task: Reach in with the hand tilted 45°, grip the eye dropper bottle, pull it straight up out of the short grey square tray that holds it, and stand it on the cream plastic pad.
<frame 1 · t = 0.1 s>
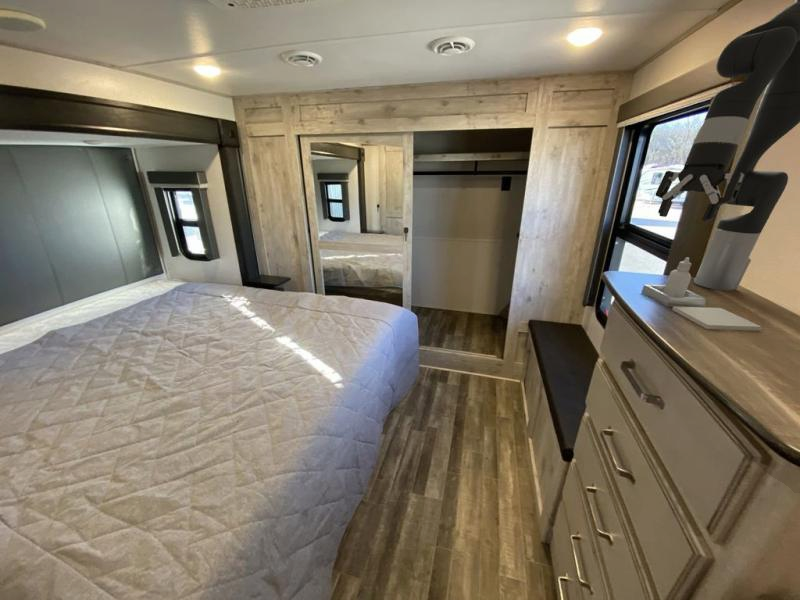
hand: (682, 218, 74), 22 cm above the dresser top, tool pointing down, fingers open, 8 cm apart
cream pad: (713, 319, 76), on the dresser top
eye dropper bottle: (670, 300, 87), resting in grey square tray
grey square tray: (670, 299, 87), on the dresser top
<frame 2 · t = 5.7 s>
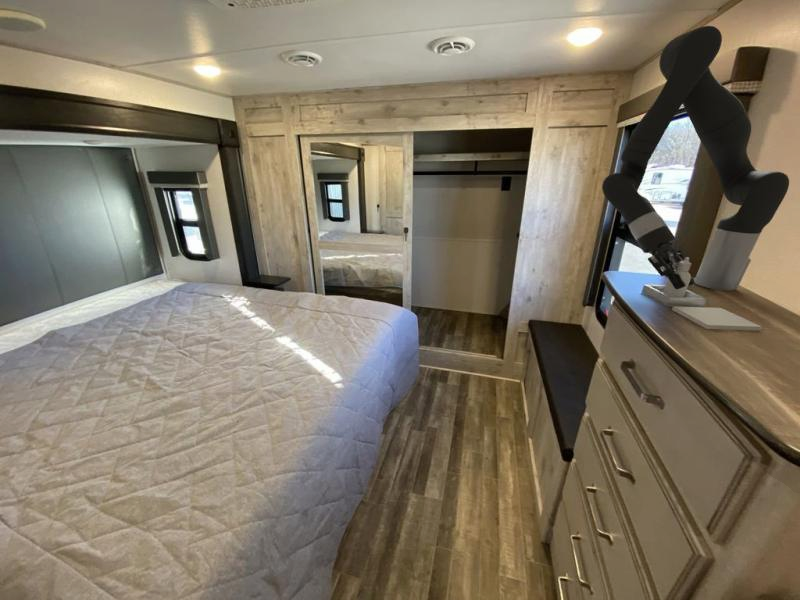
hand: (685, 286, 83), 5 cm above the dresser top, tool tilted 45°, fingers closed on eye dropper bottle, 4 cm apart
eye dropper bottle: (670, 300, 87), resting in grey square tray, touching gripper
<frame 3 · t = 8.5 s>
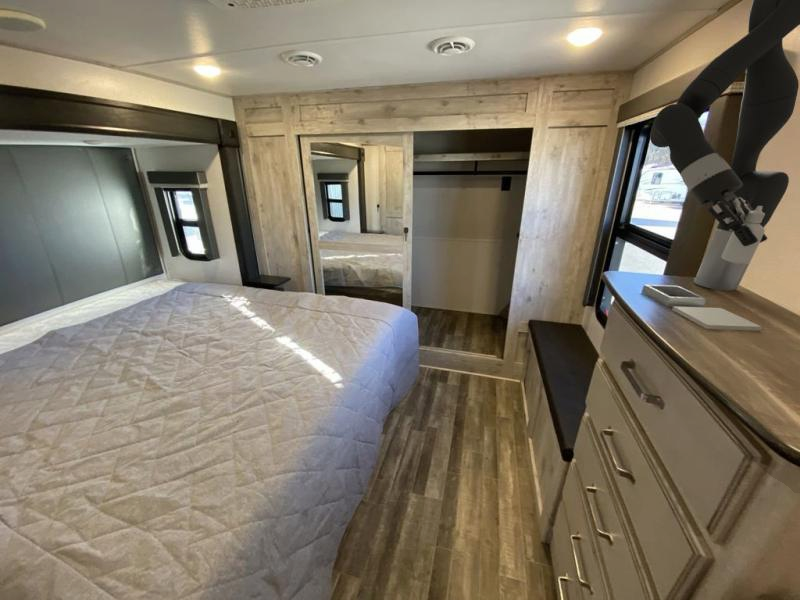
hand: (756, 242, 67), 19 cm above the dresser top, tool tilted 45°, fingers closed on eye dropper bottle, 4 cm apart
eye dropper bottle: (733, 262, 71), point 14 cm above the dresser top, touching gripper
when the fingers open (7 cm above the dresser top, at t = 11.3 s): eye dropper bottle drops 1 cm, resting on cream pad.
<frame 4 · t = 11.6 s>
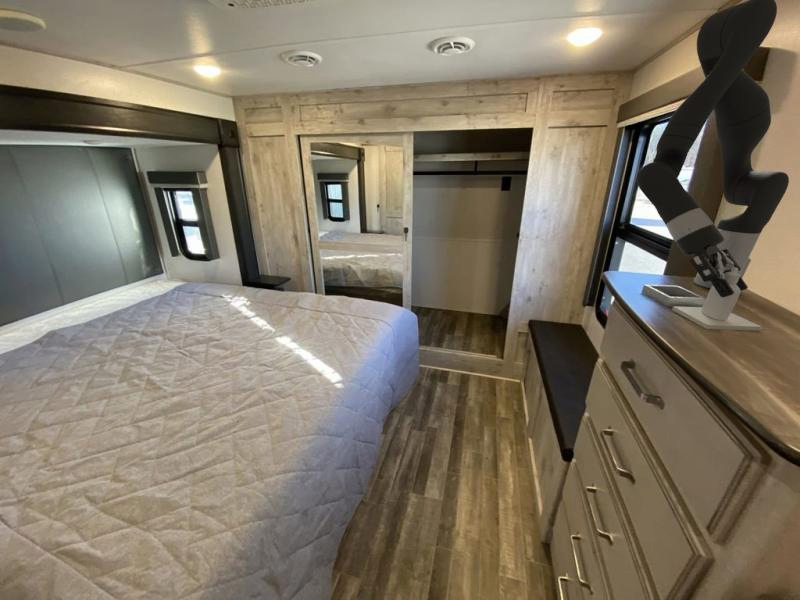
hand: (735, 293, 71), 8 cm above the dresser top, tool tilted 45°, fingers open, 7 cm apart
eye dropper bottle: (712, 316, 75), point 1 cm above the dresser top, touching cream pad
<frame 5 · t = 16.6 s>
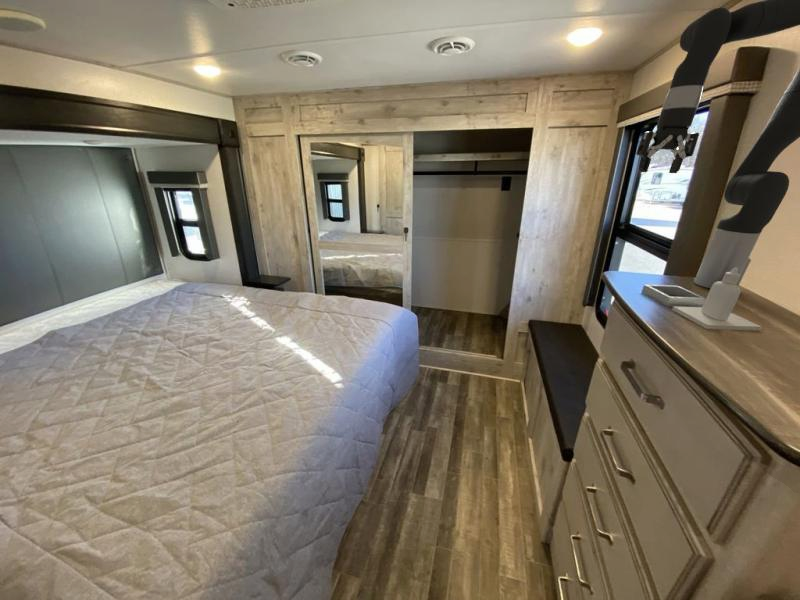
hand: (658, 172, 91), 32 cm above the dresser top, tool pointing down, fingers open, 8 cm apart
nothing on the dresser top moved.
at the end: eye dropper bottle inside the target area on the cream pad (0.4 cm from its centre), point 0.8 cm above the cream pad's base; eye dropper bottle tilted 0°; the gripper is holding nothing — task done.
